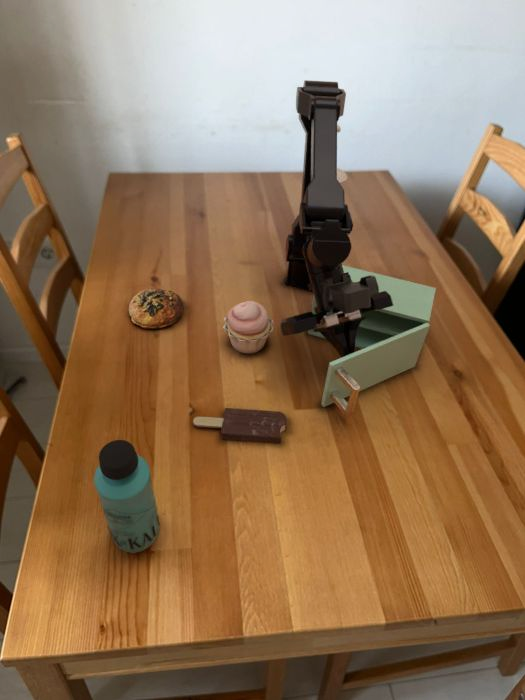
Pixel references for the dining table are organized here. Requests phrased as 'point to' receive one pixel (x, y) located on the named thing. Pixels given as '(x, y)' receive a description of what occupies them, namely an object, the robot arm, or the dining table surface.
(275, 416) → the ice cream bar
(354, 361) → the fridge door
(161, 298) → the bread roll
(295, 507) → the dining table surface
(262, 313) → the cupcake
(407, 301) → the fridge
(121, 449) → the beverage bottle
